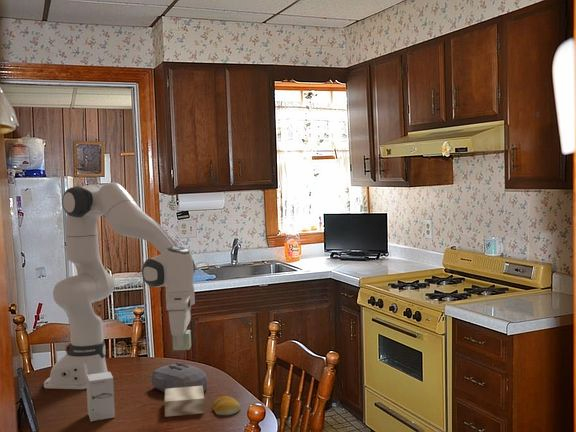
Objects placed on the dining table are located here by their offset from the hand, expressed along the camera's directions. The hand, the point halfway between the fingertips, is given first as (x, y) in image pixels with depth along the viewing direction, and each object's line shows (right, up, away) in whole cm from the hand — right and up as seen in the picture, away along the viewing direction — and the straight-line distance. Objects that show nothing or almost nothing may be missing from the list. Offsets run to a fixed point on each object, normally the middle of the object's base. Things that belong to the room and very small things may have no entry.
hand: (182, 342), depth 198 cm
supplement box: (-24, -22, -4) cm, 33 cm away
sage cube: (0, -2, 0) cm, 2 cm away
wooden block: (+1, -21, +1) cm, 21 cm away
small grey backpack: (-3, -20, +19) cm, 28 cm away
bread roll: (+14, -21, -2) cm, 25 cm away
